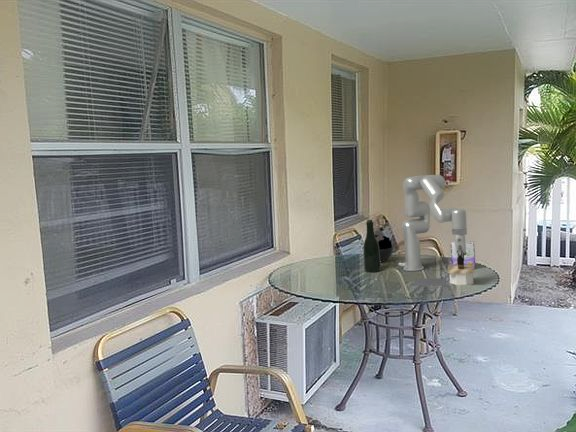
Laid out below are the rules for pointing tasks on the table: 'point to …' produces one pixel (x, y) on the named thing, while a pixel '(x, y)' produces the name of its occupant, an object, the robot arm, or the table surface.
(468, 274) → the bowl
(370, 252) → the beer bottle
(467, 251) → the candy box
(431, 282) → the mat
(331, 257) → the table surface
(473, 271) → the lid
